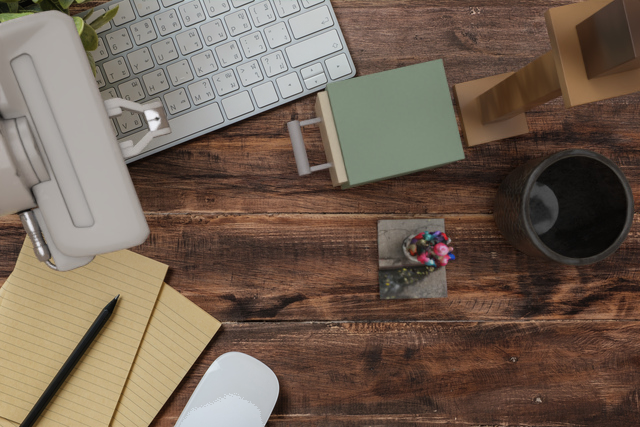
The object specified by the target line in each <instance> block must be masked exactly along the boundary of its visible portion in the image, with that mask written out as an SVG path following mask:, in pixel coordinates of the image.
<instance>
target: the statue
mask: <svg viewBox="0 0 640 427" xmlns="http://www.w3.org/2000/svg"><path fill="white" fill-rule="evenodd" d="M445 228H446V226H445V218H409V219H408V218H407V219H378V220H376V232H377V233H376V234H377V235H376V237H377V238H376V239H377V259H378V260H377V262H378V266H379V267H378V269H377V275H378V284H379V285H378V286H379V299H380V300H400V299H403V300H406V299H438V298H439V299H441V298H442V299H443V298H448V297H449V296H448V283H447V270H446V265H448V262H450V261H454V260H455V259H456V256H455V254H453V253H452V252H453V251H454V247H453V246H450V243H451V242H452V239H451V238H450V237H449V236H447V234H446V229H445Z"/></svg>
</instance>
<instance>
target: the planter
mask: <svg viewBox="0 0 640 427" xmlns="http://www.w3.org/2000/svg"><path fill="white" fill-rule="evenodd" d="M635 207H636V206H635V197H634V193H633V189H632V186H631V184H630V182H629V179H628V177H627V176H626V174H625V173H624V171H623V170H622V169H621V168H620V166H618V164H616V163H615V162H614V161H613V160H612V159H610V158H609V157H607V156H605V155H604V154H602V153H600V152H597V151H595V150H591V149H586V148H568V149H567V148H565V149H562V150H558V151H554V152H551V153H548V154H545V155H542V156H539V157H536V158H533V159H531V160H527V162H523V163H522V164H521V165H519V166H517V167H515V168H514V169H512V170H511V171H510V172H509V173H508V174H507V175H506V176H505V177H504V178H503V180H502V181H501V182H500V184H499V185H498V187H497V188H496V191H495V193H494V198H493V202H492V213H493V219H494V224H495V226H496V228H497V230H498V231H499V233H500V235H501V236H502V237H503V238H504V240H505V241H506V242H507V243H508V244H509V245H511V246H512V247H513V248H515V249H516V250H518V251H519V252H521V253H524V254H525V255H528V256H530V257H533V258H536V259H540V260H544V261H547V262H551V263H553V264H559V265H563V266H571V267H581V266H589V265H593V264H597V263H599V262H602V261H604V260H605V259H607V258H609V257H610V256H612V255H613V254H614V253H616V251H617V250H618V249H619V248H620V247H621V246H622V245H623V243H624V242H625V240H626V239H627V237H628V236H629V234H630V232H631V230H632V229H631V228H632V226H633V222H634V217H635Z"/></svg>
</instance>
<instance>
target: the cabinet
mask: <svg viewBox="0 0 640 427" xmlns="http://www.w3.org/2000/svg"><path fill="white" fill-rule="evenodd" d="M324 91H327V93H328V97H329V101H330V106H331V110H332V114H333V118H334V123H335V127H336V131H337V136H338V140H339V144H340V148H341V153H342V157H343V161H344V165H345V170H346V174H347V178H348V181H347V182H346V183H344V184H342V185H340V188H341V190H342V191H343V190H346V189H351V188H356V187H360V186H364V185H368V184H373V183H377V182H382V181H385V180H389V179H394V178H397V177H403V176H406V175H410V174H411V175H412V174H415V173H419V172H424V171H428V170H432V169H436V168H437V169H438V168H441V167H444V166H446V165H450V164H452V163H455V162H459V161H463V160H465V159H466V156H465V152H464V149H463V143H462V139H461V135H460V131H459V125H458V121H457V117H456V113H455V109H454V104H453V100H452V97H451V91H450V88H449V83H448V78H447V74H446V70H445V67H444V62H443V58H439V59H438V58H437V59H433V60H429V61H424V62H420V63H415V64H409V65H406V66H401V67H396V68H392V69H387V70H383V71H378V72H375V73H369V74H364V75H359V76H356V77H352V78H347V79H343V80H337V81H333V82H328V83H326V85H325V88H324Z"/></svg>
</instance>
